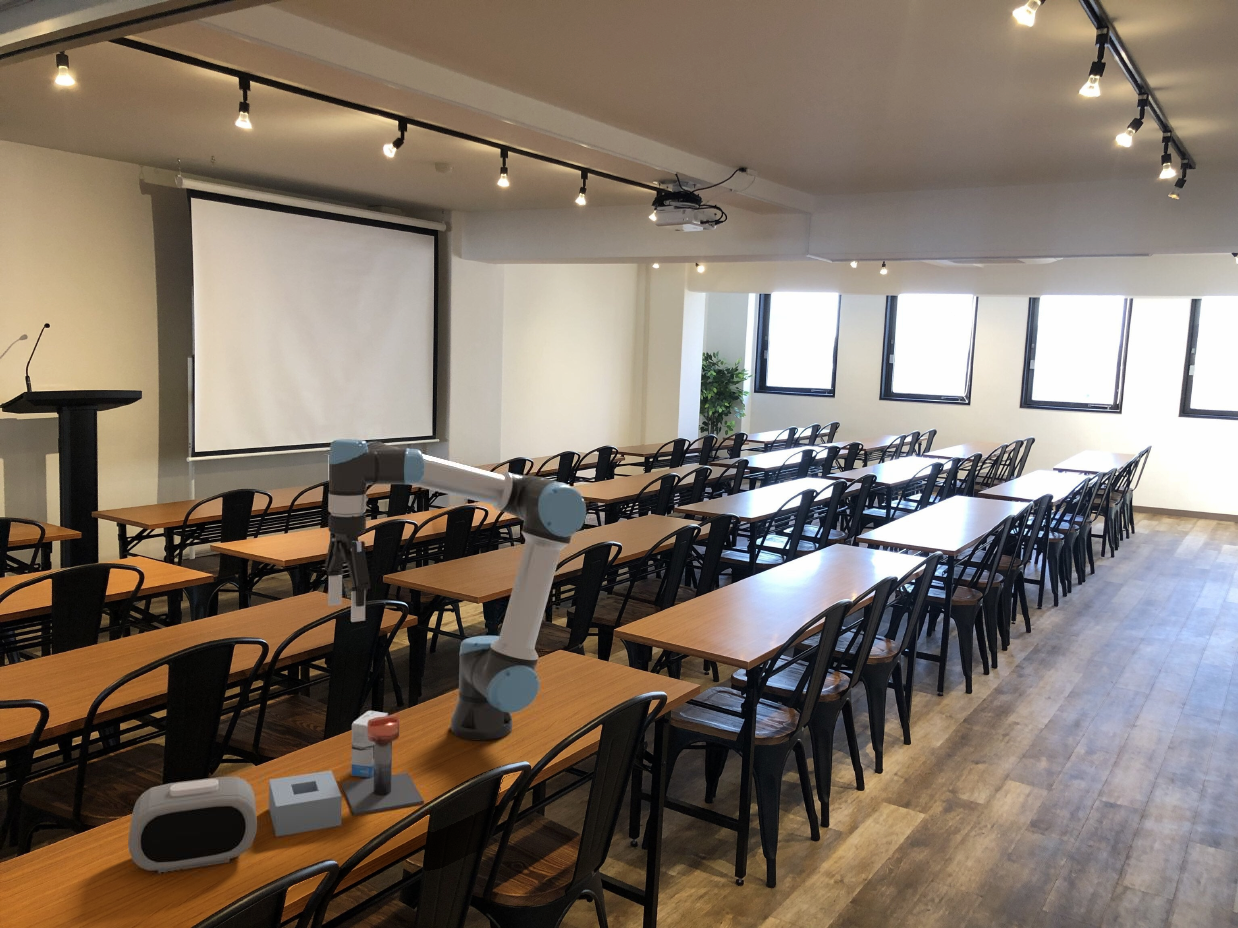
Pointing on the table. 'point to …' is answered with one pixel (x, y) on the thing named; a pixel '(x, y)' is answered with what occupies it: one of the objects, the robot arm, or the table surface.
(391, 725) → the red-capped vial
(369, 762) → the ink box
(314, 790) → the eye block
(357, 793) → the mat
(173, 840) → the alarm clock
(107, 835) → the table surface
